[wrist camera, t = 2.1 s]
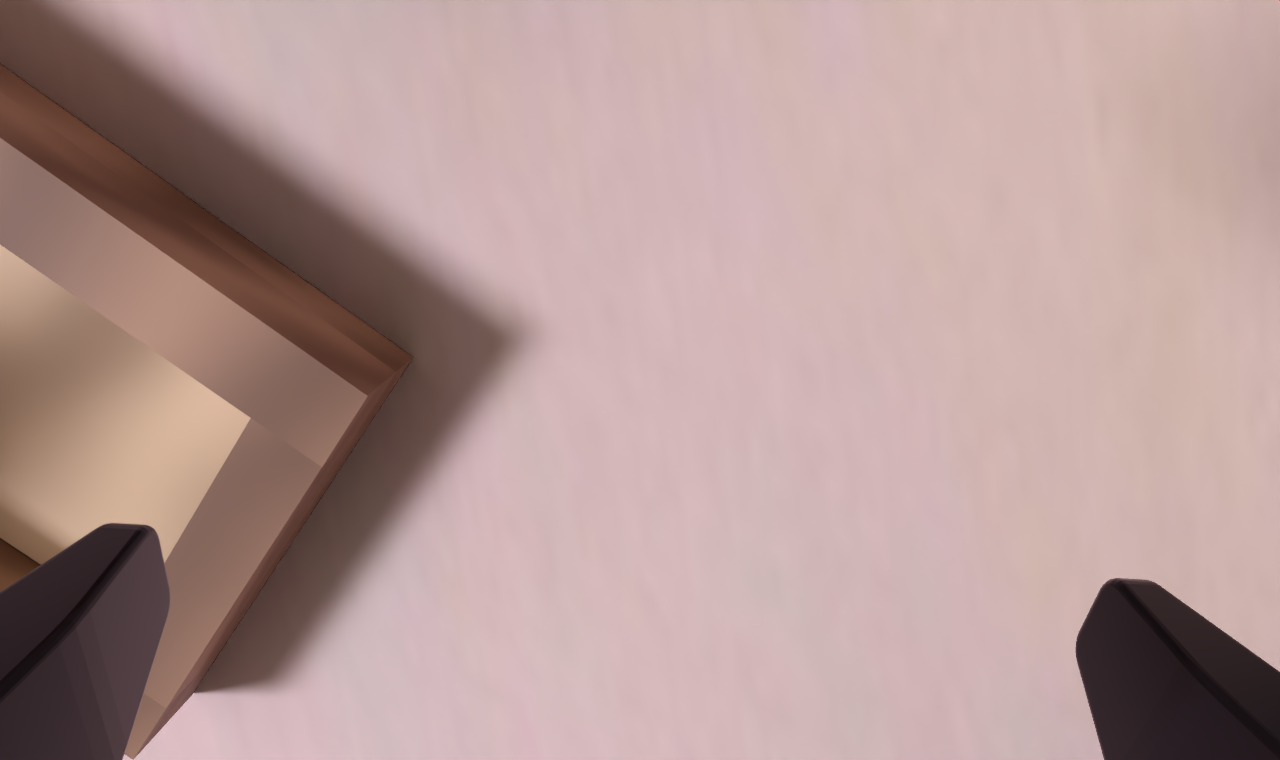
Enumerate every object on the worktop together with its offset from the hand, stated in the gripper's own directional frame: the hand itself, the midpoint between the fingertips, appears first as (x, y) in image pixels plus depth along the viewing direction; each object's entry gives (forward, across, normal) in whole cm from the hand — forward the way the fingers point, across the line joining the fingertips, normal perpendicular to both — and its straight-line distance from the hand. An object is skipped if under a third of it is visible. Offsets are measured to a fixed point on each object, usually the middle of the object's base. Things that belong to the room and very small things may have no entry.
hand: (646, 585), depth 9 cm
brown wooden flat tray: (+14, +13, +7) cm, 20 cm away
